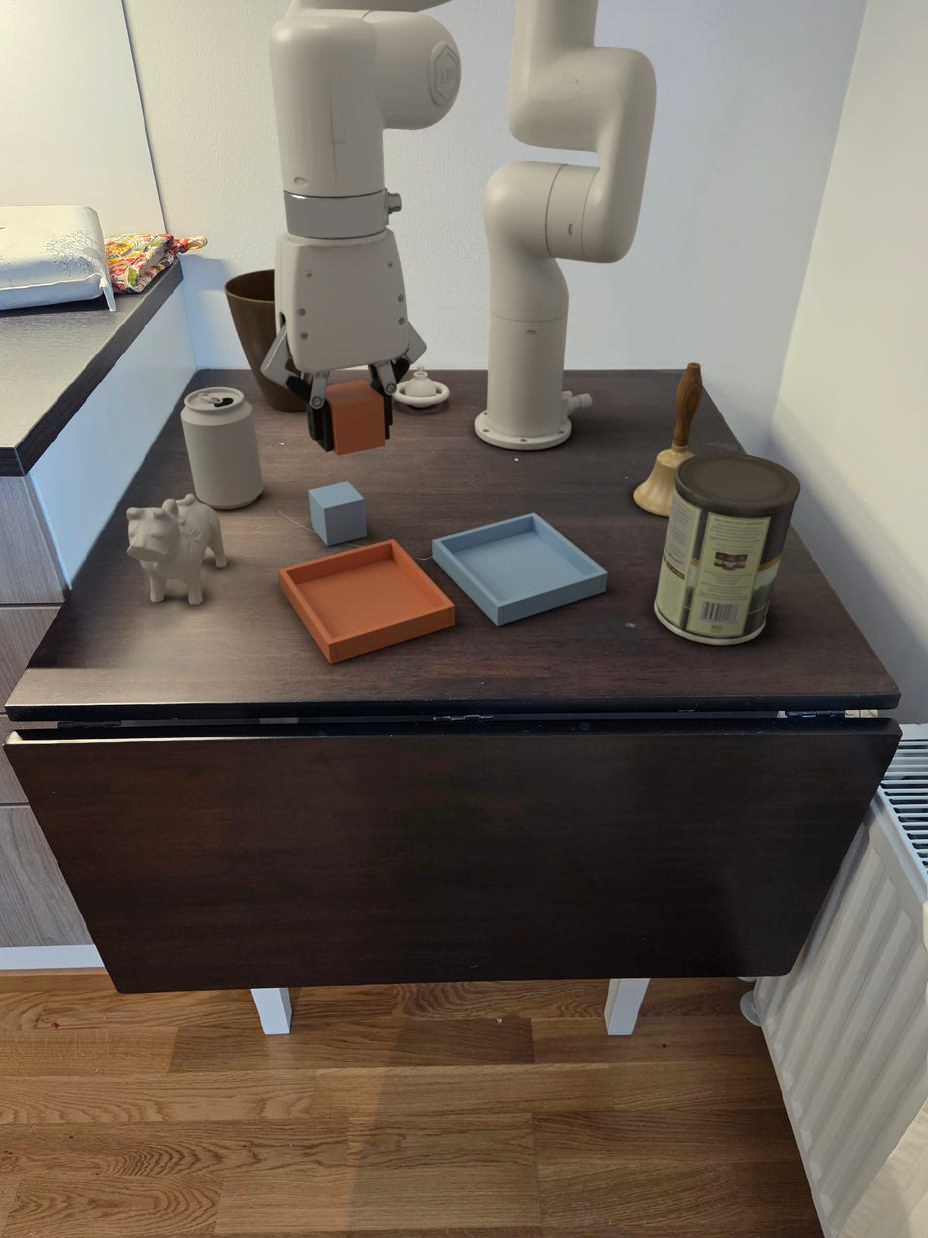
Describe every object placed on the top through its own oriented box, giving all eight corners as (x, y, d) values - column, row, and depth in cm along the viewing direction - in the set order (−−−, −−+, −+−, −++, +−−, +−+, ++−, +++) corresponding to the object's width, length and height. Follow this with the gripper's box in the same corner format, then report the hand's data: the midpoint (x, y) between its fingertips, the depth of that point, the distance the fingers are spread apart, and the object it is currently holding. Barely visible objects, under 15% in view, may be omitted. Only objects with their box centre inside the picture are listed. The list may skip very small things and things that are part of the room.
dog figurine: (130, 626, 80) (102, 524, 73) (183, 551, 90) (162, 457, 83) (186, 630, 79) (163, 528, 73) (233, 555, 89) (215, 460, 83)
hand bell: (720, 499, 100) (748, 362, 90) (682, 526, 95) (708, 384, 85) (658, 476, 104) (678, 344, 95) (619, 501, 99) (636, 363, 90)
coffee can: (728, 575, 87) (757, 444, 79) (787, 635, 79) (826, 497, 71) (634, 591, 85) (654, 458, 76) (685, 655, 77) (713, 514, 68)
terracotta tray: (394, 557, 89) (393, 538, 88) (455, 625, 80) (455, 605, 79) (280, 588, 85) (277, 569, 83) (330, 664, 75) (328, 644, 74)
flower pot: (364, 387, 126) (356, 272, 117) (328, 428, 115) (316, 304, 105) (267, 377, 129) (253, 264, 120) (223, 417, 117) (203, 295, 108)
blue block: (350, 517, 96) (347, 480, 93) (367, 536, 93) (364, 498, 90) (312, 527, 94) (308, 489, 91) (327, 546, 91) (323, 508, 88)
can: (248, 516, 96) (232, 412, 89) (185, 508, 97) (164, 406, 90) (274, 484, 102) (260, 385, 95) (214, 478, 103) (196, 380, 96)
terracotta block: (365, 427, 79) (362, 379, 76) (386, 445, 76) (383, 396, 73) (318, 436, 77) (314, 387, 75) (337, 456, 74) (333, 405, 71)
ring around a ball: (382, 410, 119) (437, 418, 117) (381, 369, 116) (437, 377, 114) (404, 391, 125) (457, 399, 123) (404, 352, 122) (457, 359, 120)
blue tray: (533, 530, 94) (534, 512, 93) (605, 591, 85) (608, 572, 83) (432, 558, 89) (431, 539, 88) (497, 626, 80) (498, 607, 78)
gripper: (415, 196, 72) (420, 408, 82) (211, 215, 65) (245, 442, 76) (458, 214, 66) (457, 437, 77) (240, 236, 60) (272, 477, 71)
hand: (352, 437), depth 76 cm, fingers closed on terracotta block, 4 cm apart
